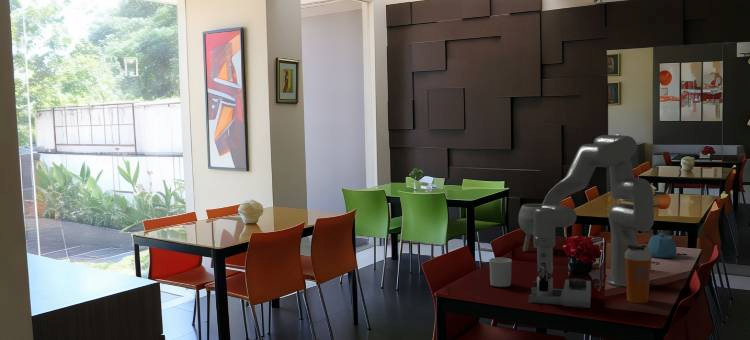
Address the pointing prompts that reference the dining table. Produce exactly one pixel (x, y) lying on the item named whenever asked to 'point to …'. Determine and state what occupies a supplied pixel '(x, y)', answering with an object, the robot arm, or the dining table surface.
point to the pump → (550, 287)
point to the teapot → (662, 246)
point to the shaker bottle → (637, 273)
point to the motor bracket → (567, 294)
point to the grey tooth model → (527, 222)
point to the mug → (500, 272)
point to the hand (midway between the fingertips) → (544, 287)
